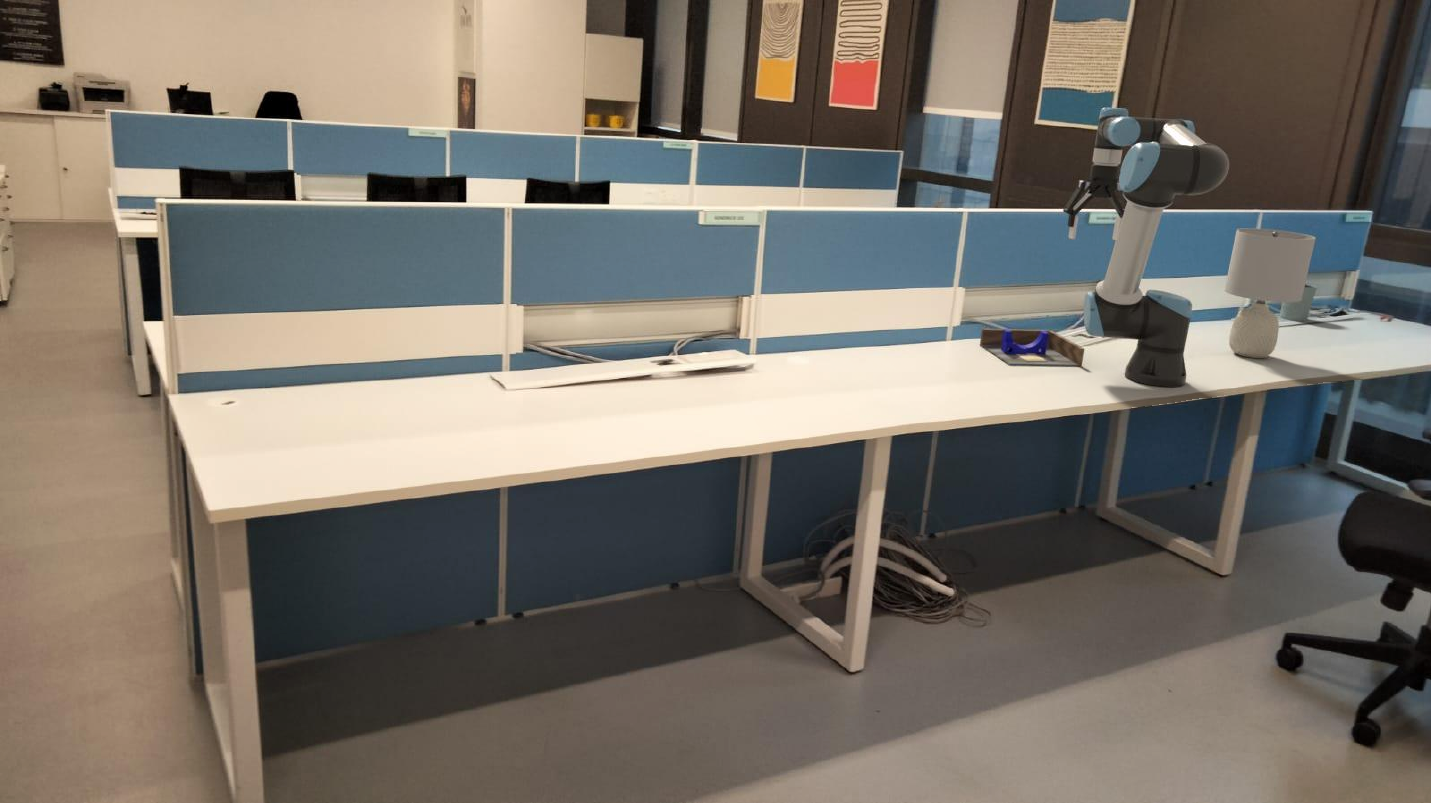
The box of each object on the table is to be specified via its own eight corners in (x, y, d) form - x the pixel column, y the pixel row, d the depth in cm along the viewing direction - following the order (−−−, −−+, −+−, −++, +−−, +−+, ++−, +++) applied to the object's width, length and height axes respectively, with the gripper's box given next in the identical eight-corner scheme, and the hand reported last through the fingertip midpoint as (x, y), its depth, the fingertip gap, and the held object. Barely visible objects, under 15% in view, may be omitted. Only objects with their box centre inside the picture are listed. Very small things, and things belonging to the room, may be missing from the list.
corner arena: (1081, 366, 288) (1084, 348, 286) (1008, 365, 285) (1011, 347, 283) (1048, 346, 308) (1050, 330, 306) (979, 345, 305) (982, 328, 303)
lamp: (1269, 367, 297) (1297, 239, 286) (1199, 351, 312) (1224, 228, 301) (1299, 358, 310) (1327, 235, 299) (1231, 343, 324) (1256, 224, 313)
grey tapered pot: (1279, 319, 364) (1287, 285, 361) (1274, 313, 373) (1282, 280, 370) (1312, 322, 361) (1320, 288, 358) (1306, 317, 370) (1313, 283, 367)
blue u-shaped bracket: (1005, 353, 294) (1007, 332, 293) (1000, 349, 299) (1003, 328, 297) (1047, 355, 295) (1050, 334, 293) (1042, 351, 299) (1045, 331, 297)
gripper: (1140, 164, 300) (1127, 238, 307) (1058, 161, 297) (1047, 235, 303) (1153, 167, 293) (1140, 242, 300) (1070, 163, 290) (1058, 240, 296)
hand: (1093, 239), depth 301 cm, fingers open, 13 cm apart
